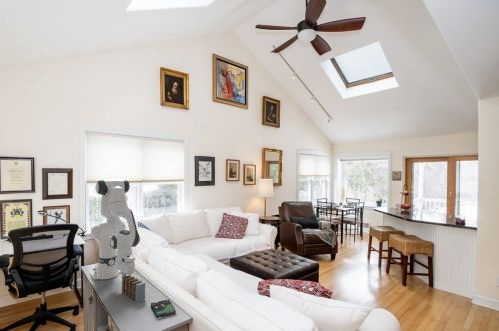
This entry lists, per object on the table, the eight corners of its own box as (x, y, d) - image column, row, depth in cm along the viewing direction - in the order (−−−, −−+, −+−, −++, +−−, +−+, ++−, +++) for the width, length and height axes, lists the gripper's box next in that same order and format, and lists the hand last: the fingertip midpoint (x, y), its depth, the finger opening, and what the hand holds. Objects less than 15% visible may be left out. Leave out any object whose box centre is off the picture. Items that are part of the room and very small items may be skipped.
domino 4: (131, 299, 159) (132, 282, 160) (139, 296, 163) (140, 280, 163) (133, 300, 158) (133, 283, 158) (141, 297, 162) (141, 280, 162)
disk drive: (150, 308, 151) (156, 320, 138) (150, 303, 151) (156, 314, 138) (168, 303, 156) (176, 314, 144) (168, 298, 156) (176, 309, 144)
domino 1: (121, 292, 168) (122, 276, 168) (129, 290, 171) (130, 274, 172) (123, 293, 167) (123, 277, 167) (130, 291, 170) (131, 275, 171)
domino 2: (124, 295, 165) (125, 278, 165) (132, 292, 169) (133, 276, 169) (126, 295, 164) (126, 279, 164) (134, 293, 167) (134, 277, 168)
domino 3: (128, 297, 162) (128, 280, 162) (136, 294, 166) (136, 278, 166) (129, 298, 161) (130, 281, 161) (137, 295, 165) (138, 279, 165)
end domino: (144, 299, 159) (145, 282, 159) (136, 302, 155) (137, 285, 156) (143, 298, 160) (143, 282, 161) (135, 301, 156) (135, 284, 157)
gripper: (112, 254, 177) (111, 275, 176) (126, 260, 163) (126, 283, 163) (122, 252, 181) (121, 272, 181) (136, 258, 168) (136, 280, 168)
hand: (123, 278), depth 172 cm, fingers closed
